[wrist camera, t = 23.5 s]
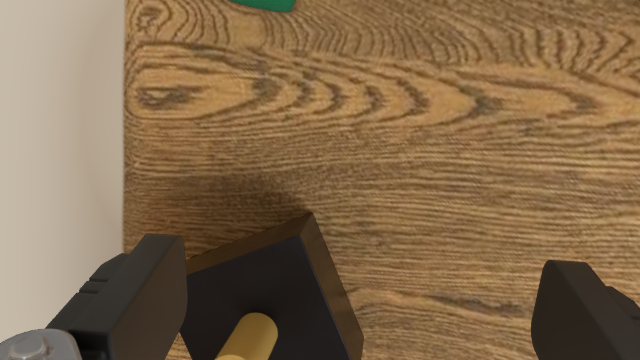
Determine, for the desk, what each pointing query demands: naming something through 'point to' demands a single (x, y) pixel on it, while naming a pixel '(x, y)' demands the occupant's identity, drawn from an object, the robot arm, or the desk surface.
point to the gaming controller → (268, 4)
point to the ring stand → (270, 300)
